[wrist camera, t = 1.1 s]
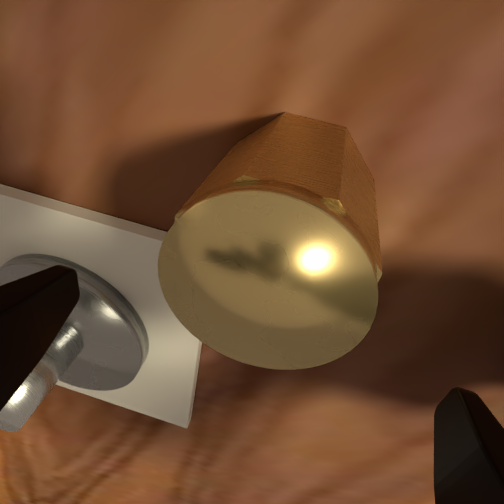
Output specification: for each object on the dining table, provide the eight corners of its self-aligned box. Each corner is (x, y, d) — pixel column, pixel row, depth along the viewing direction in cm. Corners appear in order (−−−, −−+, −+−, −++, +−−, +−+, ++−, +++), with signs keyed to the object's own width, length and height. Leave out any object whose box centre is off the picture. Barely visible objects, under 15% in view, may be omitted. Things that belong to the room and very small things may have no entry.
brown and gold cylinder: (394, 136, 13) (421, 235, 8) (343, 262, 17) (335, 392, 11) (239, 98, 14) (160, 164, 8) (220, 227, 17) (155, 335, 12)
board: (216, 245, 18) (210, 255, 17) (191, 418, 27) (187, 428, 27) (-110, 152, 19) (-126, 157, 19) (-26, 346, 29) (-35, 354, 28)
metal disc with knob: (149, 284, 19) (76, 385, 14) (148, 392, 25) (96, 490, 20) (-23, 232, 20) (-148, 310, 15) (16, 348, 26) (-65, 431, 21)
